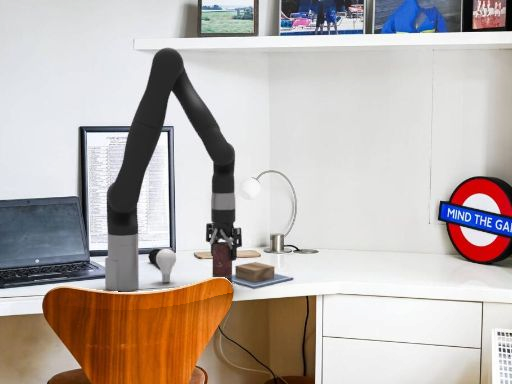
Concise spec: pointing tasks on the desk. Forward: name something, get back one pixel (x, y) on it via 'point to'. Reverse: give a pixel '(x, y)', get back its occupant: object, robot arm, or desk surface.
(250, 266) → the plinth
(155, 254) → the microphone
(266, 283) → the board
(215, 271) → the maroon rounded block
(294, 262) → the desk surface
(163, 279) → the lightbulb
